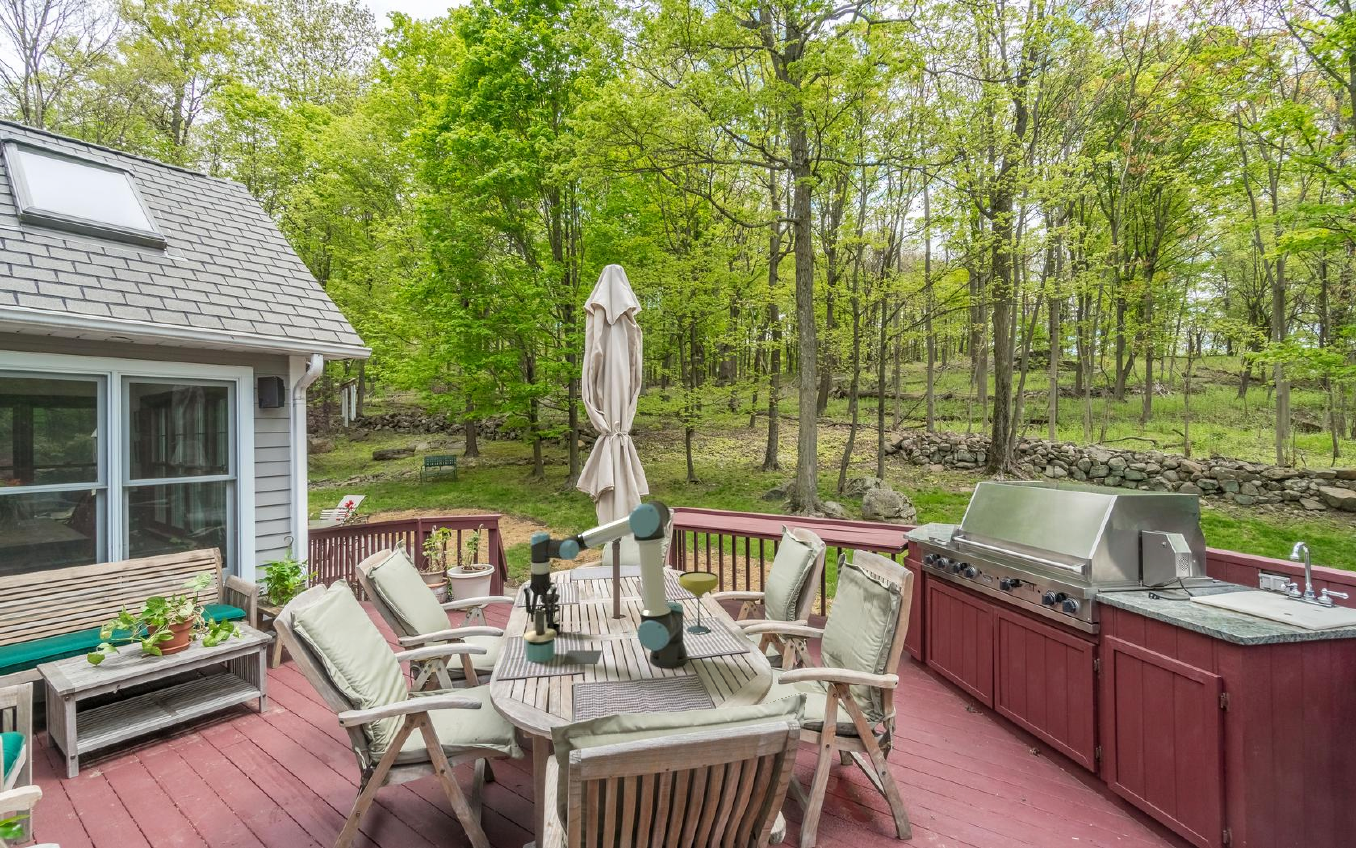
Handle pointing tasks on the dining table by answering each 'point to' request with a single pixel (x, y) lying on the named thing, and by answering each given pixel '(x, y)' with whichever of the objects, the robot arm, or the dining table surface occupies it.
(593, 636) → the dining table surface
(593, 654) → the mat
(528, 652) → the bowl
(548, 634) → the lid
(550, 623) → the french press
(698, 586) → the cocktail glass
